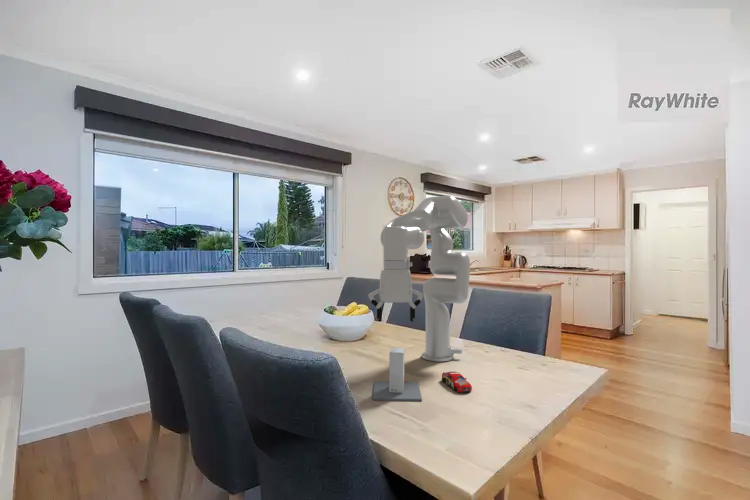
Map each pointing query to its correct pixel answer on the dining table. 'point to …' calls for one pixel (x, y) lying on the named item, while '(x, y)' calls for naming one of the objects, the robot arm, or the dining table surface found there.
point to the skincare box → (396, 370)
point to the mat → (409, 393)
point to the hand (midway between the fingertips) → (395, 320)
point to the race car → (456, 382)
